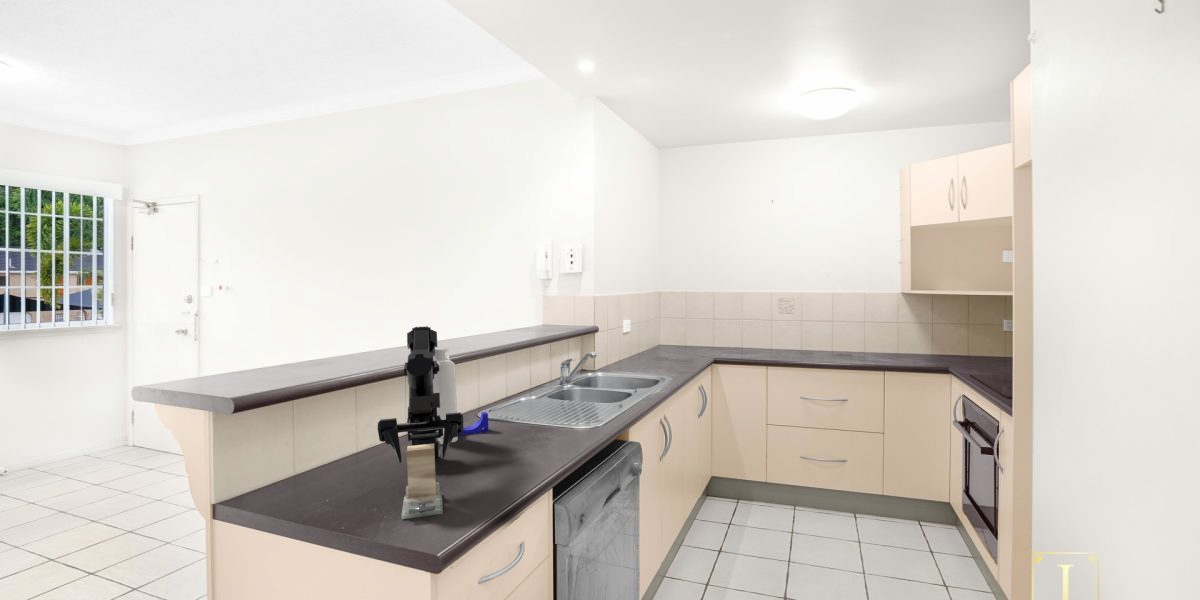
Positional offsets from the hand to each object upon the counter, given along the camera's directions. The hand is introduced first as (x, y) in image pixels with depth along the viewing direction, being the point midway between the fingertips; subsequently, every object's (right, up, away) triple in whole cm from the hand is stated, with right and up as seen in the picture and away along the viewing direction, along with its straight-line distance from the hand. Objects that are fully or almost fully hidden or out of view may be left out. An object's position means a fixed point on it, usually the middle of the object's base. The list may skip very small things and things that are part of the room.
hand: (422, 460), depth 124 cm
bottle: (-8, -7, +45) cm, 47 cm away
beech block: (+2, -8, -5) cm, 9 cm away
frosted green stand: (+2, -8, -5) cm, 10 cm away
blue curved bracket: (-2, -7, +54) cm, 54 cm away
